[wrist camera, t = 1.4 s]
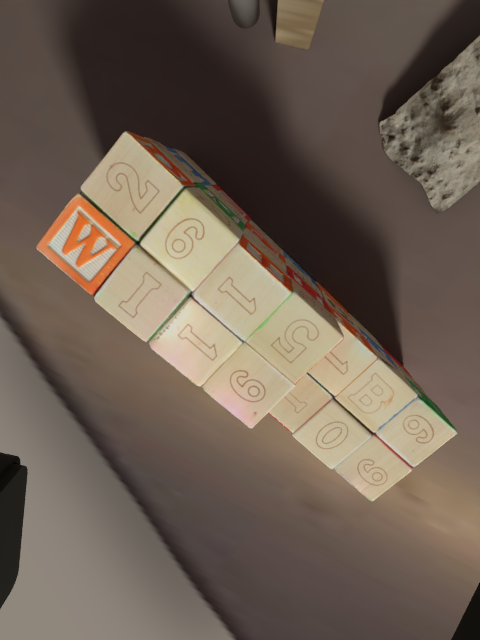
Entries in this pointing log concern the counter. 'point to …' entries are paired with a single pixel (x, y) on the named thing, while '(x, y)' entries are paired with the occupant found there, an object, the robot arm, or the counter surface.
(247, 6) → the door
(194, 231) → the stack of blocks
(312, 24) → the door frame
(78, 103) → the counter surface
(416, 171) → the stone fragment
